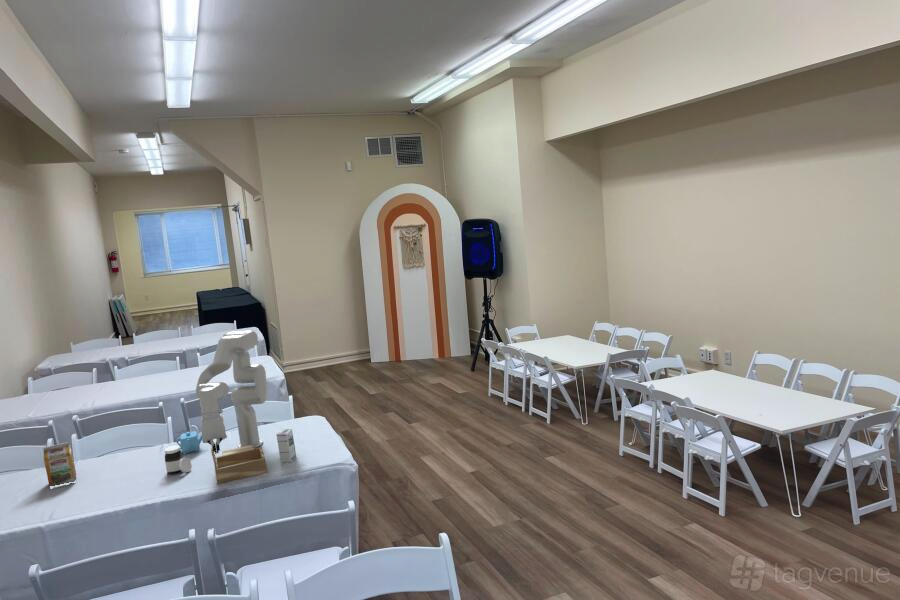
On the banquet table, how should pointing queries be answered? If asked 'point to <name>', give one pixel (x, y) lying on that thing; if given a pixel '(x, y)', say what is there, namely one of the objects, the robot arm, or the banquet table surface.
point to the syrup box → (286, 445)
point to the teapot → (189, 442)
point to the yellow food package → (59, 464)
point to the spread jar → (176, 460)
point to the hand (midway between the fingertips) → (216, 452)
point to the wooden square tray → (240, 464)
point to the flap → (213, 456)
